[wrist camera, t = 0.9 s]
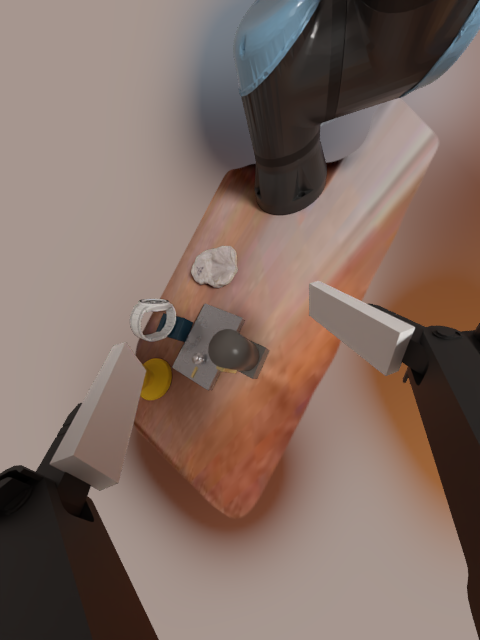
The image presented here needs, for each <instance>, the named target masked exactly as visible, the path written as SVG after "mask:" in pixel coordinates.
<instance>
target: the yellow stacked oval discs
mask: <svg viewBox="0 0 480 640" xmlns="http://www.w3.org/2000/svg"><path fill="white" fill-rule="evenodd" d="M141 364H142V363H141ZM142 365H143V367H144V368H145V370H146V373H145V377H144V382H143V386H142V390H141V394H140V396H141V397H142V398H143V399H145V400H156V399H159V398H160V397H162V396H163V395H164V394H165V393H166V392H167V390H168V389H169V387H170V384H171V380H172V371H171V368H170V366H169V364H168V363H167V362H166V361H165V360H163V359H158V358H153V359H150V360H148V361H147V362H145V363H144V364H142Z"/></svg>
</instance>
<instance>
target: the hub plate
mask: <svg viewBox="0 0 480 640" xmlns="http://www.w3.org/2000/svg"><path fill="white" fill-rule="evenodd" d="M244 321H245V320H244V319H243V318H241V317H239V316H236V315H234V314H231V313H228V312H226V311H223V310H221V309H218V308H215V307H213V306H210V305H208V304H204V306H203V308H202V310H201V312H200V314H199V316H198V318H197V320H196V322H195V324H194V326H193V328H192V330H191V331H190V333H189V335H188V337H187V339H186V341H185V343H184V345H183V347H182V349H181V351H180V353H179V355H178V357H177V359H176V360H175V362H174V364H173V366H172V368H174V369H175V370H177V371H178V372H180V373H182V374H183V375H185V376H186V377H188V378H189V379H191V380H193V381H194V382H196V383H197V384H199V385H200V386H202V387H203V388H205V389H207V390H212V389H213V387H214V385H215V383H216V381H217V379H218V377H219V374H220V372H221V371H220V370H218V369H216V367H217V366H216V365H215V364H214V363H213V362H212V361H211V359H210V357H209V353H208V347H209V343H210V340H211V339H212V337H213V336H214V335H215V334H216V333H217V332H219V331H221V330H223V329H232V330H235V331H237V332H238V333H239V332H240V330H241V328H242V326H243V324H244Z"/></svg>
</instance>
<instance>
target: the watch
mask: <svg viewBox="0 0 480 640" xmlns="http://www.w3.org/2000/svg"><path fill="white" fill-rule="evenodd" d="M164 310H166V314H164V313H163V316H162V318H161V321H160V323H159V326H158V328H157V331H156V332H155V333H153V334H149V335H143V333H142V331H141V319H142V317H143V315H142V314H144V313H145V311H146V312H150V311H151V312H157V311H164ZM135 314H136V315H135ZM131 317H132V318H131ZM192 325H193V322H191V321H189V320H187V319H185V318H181V317H177V316H176V312H175V309H174V307H173V305H172V304H170V303H169V301H168V300H164V299H143V300H140V301H139V303H138V304H137V305H135V306H134V309H133V311H132V313H131V316H130V327H131V330H132V332H133V333H134V335H136V336H137V337H139V338H142V339H143V340H146V341H150V342H153V341H158V340H161V339H164V338H166V337H169V338H173V339H176V340H179V341H183V342H185V341H186V339H187V337H188V335H189V333H190V330H191V327H192Z"/></svg>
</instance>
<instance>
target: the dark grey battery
mask: <svg viewBox="0 0 480 640" xmlns="http://www.w3.org/2000/svg"><path fill="white" fill-rule="evenodd" d="M208 353H209V357H210V359H211V361H212V362H213V363H214V364H215V365H216V366H217V367H216V369H218V370H220V371H222V372H228V373H236V372H237V371H239V372H241V373H243V374H245V375H247V376H248V377H250V378H252V379H257V378H258V376H259V373H260V371H261V369H262V367H263V364H264V362H265V360H266V357H267V355H268V353H269V350H268V349H267V348H266V347H263V346H261V345H259V344H256V343H254V342H252V341H250V340H248V339H246V338H245V337H243V336H242V335H241V334H239V333H238V332H237V331H235V330H232V329H223V330H221V331H219V332H217V333H216V334H215V335H214V336H213V337H212V339H211V340H210V343H209V347H208Z"/></svg>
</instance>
